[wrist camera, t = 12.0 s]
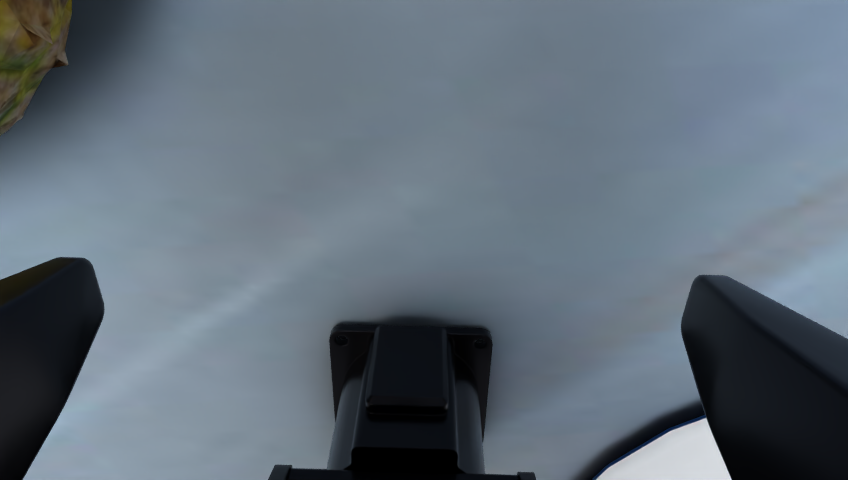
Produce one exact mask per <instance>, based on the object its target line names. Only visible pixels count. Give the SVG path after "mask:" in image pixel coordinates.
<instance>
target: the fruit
mask: <svg viewBox="0 0 848 480" xmlns="http://www.w3.org/2000/svg"><path fill="white" fill-rule="evenodd" d="M71 15H72V0H0V136H1V135H2V134H4V133H5V132H7V131H8V130H9V129H10V128H11V127H12V126H13V125H14V124H15V123H16V122H17V121H19V120H21V119H22V118H23V115H24V112H25V110H26V108H27V107H28V105H29V103H30V101H31V99H32V97H33V95H34V94H35V92H36V90H37V88H38V86H39V84H40V83H41V81H42V79H43V77H44V76H45V75H46V74H47V72H48V71H49V70H50V69H52V68H55V67H61V66H67V65H68V61H67V57H66V53H65V46H66V41H67V36H68V31H69V26H70V20H71Z"/></svg>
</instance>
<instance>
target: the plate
mask: <svg viewBox="0 0 848 480" xmlns="http://www.w3.org/2000/svg"><path fill="white" fill-rule="evenodd" d="M592 480H732V479H731V477H730V475H729V472H728V470H727V468H726V465H725V463H724V461H723V458H722V456H721V454H720V451H719V449H718V447H717V444H716V442H715V439H714V437H713V435H712V432H711V429H710V427H709V424H708V422H707V419H706V416H705V415H703V416H701V417H698V418H695V419H692V420H690V421H687V422H684V423H681V424H679V425H676V426H673V427H670V428H668V429H667V430H665V431H663V432H662V433H660V434H658V435H657V436H655V437H653V438H652V439H650V440H648V441H647V442H645V443H643V444H641V445H640V446H638V447H636V448H635V449H633V450H631V451H630V452H628V453H626V454H625V455H623V456H621V457H620V458H618V459H616V460H615V461H613V462H611V463H610V464H608V465H607V466H606V467H605V468H604V469H602V470H601V471H600V472H599V473H598V474H597V475H596V476H595V477H594V478H593V479H592Z"/></svg>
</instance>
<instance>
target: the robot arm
mask: <svg viewBox="0 0 848 480" xmlns="http://www.w3.org/2000/svg"><path fill="white" fill-rule="evenodd" d="M103 316H104V302H103V298H102V295H101V292H100V288H99V285H98V281H97V278H96V275H95V271H94V268H93V266H92V264H91V262H90V261H89V260H87V259H85V258H75V257H59V258H55V259H52V260H50V261H47V262H45V263H42V264H40V265H37V266H35V267H32V268H29V269H27V270H24V271H22V272H19V273H17V274H14V275H12V276H9V277H7V278H4V279H2V280H0V480H23V478H24V476H25V475H26V473H27V471H28V469H29V468H30V466H31V464H32V462H33V461H34V459H35V457H36V455H37V454H38V452H39V450H40V448H41V447H42V445H43V443H44V441H45V440H46V438H47V436H48V434H49V433H50V431H51V429H52V427H53V426H54V424H55V422H56V421H57V419H58V417H59V415H60V413H61V411H62V409H63V408H64V406H65V404H66V402H67V399H68V397H69V395H70V393H71V391H72V389H73V387H74V384H75V382H76V380H77V377H78V375H79V373H80V371H81V368H82V366H83V364H84V361H85V359H86V357H87V354H88V352H89V350H90V348H91V345H92V343H93V341H94V338H95V336H96V334H97V331H98V329H99V327H100V325H101V322H102V320H103ZM681 333H682V338H683V341H684V345H685V348H686V351H687V355H688V358H689V362H690V365H691V369H692V372H693V375H694V379H695V382H696V386H697V389H698V392H699V396H700V399H701V403H702V406H703V409H704V412H705V416H706V419H707V422H708V424H709V427H710V429H711V432H712V435H713V437H714V439H715V442H716V444H717V447H718V449H719V451H720V454H721V456H722V458H723V461H724V463H725V465H726V468H727V470H728V472H729V475H730V477H731V479H732V480H848V339H847V338H845V337H843V336H841V335H839V334H837V333H835V332H833V331H831V330H829V329H828V328H826V327H824V326H822V325H820V324H818V323H816V322H814V321H812V320H810V319H808V318H806V317H805V316H803V315H801V314H799V313H797V312H795V311H793V310H791V309H789V308H787V307H785V306H783V305H782V304H780V303H778V302H776V301H774V300H772V299H770V298H768V297H766V296H764V295H762V294H760V293H759V292H757V291H755V290H753V289H751V288H749V287H747V286H745V285H743V284H741V283H739V282H737V281H736V280H734V279H732V278H730V277H728V276H723V275H699V276H698V277H696V278H695V279H694V281H693V283H692V286H691V289H690V292H689V296H688V299H687V303H686V306H685V310H684V313H683V317H682V321H681ZM341 335H342V336H345V337H347V339H340V338H339V337H338V336H341ZM479 339H482V340H484V342H482V343H477V342H475V341H476V340H479ZM329 342H330V356H331V370H332V383H333V397H334V411H335V428H334V433H333V438H332V444H331V449H330V454H329V459H328V465H327V469H300V468H292V465H275V466H274V468H273V470H272V472H271V475H270V477H269V479H268V480H536V477H535V474H534V472H517V475H501V474H485V466H484V454H483V438H484V428H485V418H486V407H487V397H488V387H489V376H490V366H491V356H492V345H493V344H492V337H491V334H490V332H489V331H488V330H486V329H482V328H458V327H427V326H389V325H346V324H342V325H337V326H335V327H334V328H333V329H332V330H331V335H330V339H329Z"/></svg>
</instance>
